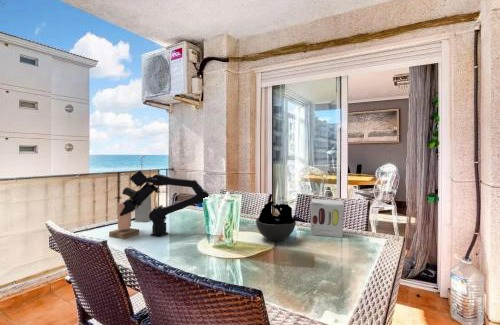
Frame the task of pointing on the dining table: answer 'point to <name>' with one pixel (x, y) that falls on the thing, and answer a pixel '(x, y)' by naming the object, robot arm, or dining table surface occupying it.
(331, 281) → the dining table surface
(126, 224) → the terracotta block
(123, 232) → the walnut slab
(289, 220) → the black rounded bowl
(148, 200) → the skincare box
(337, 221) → the supplement box
